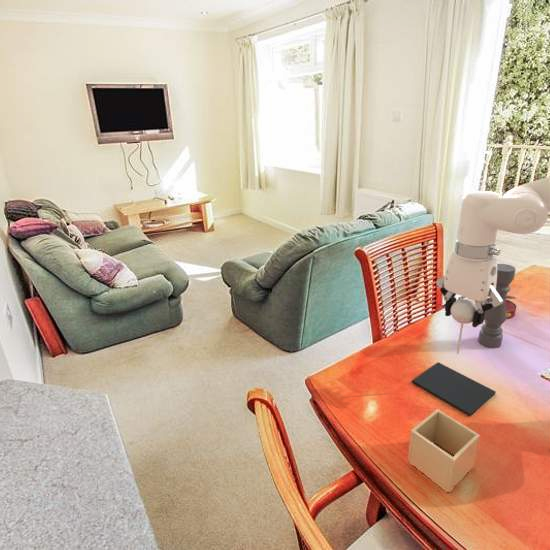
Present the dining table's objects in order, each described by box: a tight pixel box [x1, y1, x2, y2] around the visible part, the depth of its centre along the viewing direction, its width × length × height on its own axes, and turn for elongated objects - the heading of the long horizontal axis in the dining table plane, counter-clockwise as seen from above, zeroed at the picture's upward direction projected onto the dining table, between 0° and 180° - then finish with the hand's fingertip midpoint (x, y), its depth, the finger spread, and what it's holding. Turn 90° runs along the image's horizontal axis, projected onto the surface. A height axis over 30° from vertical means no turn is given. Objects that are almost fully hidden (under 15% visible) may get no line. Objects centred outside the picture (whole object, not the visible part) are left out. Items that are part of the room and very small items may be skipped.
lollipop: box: [450, 298, 477, 355], centre depth 90 cm, size 6×6×15 cm
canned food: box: [487, 294, 518, 320], centre depth 129 cm, size 11×10×10 cm
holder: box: [407, 408, 481, 493], centre depth 76 cm, size 9×9×9 cm
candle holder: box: [477, 263, 516, 349], centre depth 110 cm, size 6×6×25 cm
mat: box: [411, 361, 497, 417], centre depth 98 cm, size 16×12×1 cm
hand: (463, 318), depth 89 cm, fingers closed on lollipop, 6 cm apart
